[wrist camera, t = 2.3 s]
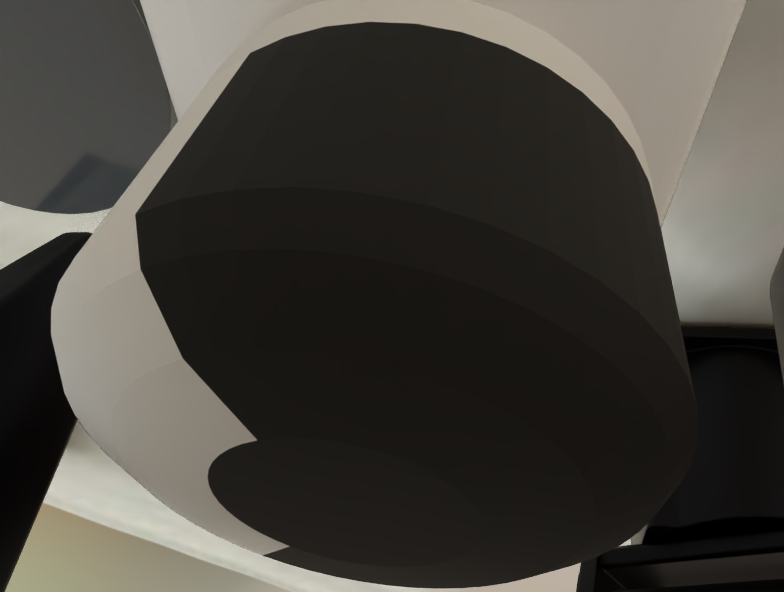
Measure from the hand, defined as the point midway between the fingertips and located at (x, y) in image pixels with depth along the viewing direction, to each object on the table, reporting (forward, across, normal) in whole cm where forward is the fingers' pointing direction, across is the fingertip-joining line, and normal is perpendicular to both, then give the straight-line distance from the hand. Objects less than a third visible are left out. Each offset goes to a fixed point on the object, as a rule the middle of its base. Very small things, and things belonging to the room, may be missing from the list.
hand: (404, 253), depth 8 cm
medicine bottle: (+9, 0, 0) cm, 9 cm away
